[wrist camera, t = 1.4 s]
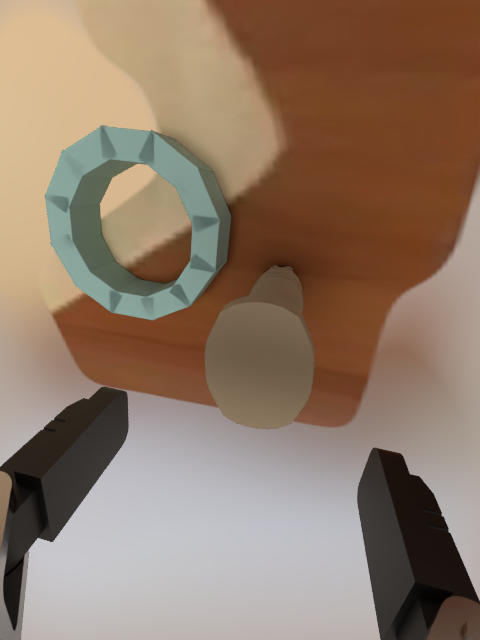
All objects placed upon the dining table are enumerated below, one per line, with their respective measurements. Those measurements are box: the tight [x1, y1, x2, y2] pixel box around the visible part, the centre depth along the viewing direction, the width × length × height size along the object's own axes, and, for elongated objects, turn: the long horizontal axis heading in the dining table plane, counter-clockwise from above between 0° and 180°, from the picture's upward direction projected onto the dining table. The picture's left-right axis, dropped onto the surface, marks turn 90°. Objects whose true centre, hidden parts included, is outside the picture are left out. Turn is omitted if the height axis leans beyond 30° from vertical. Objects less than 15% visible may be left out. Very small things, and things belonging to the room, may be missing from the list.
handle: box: [205, 265, 314, 429], centre depth 21 cm, size 5×6×15 cm
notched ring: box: [45, 125, 232, 320], centre depth 26 cm, size 14×14×4 cm
